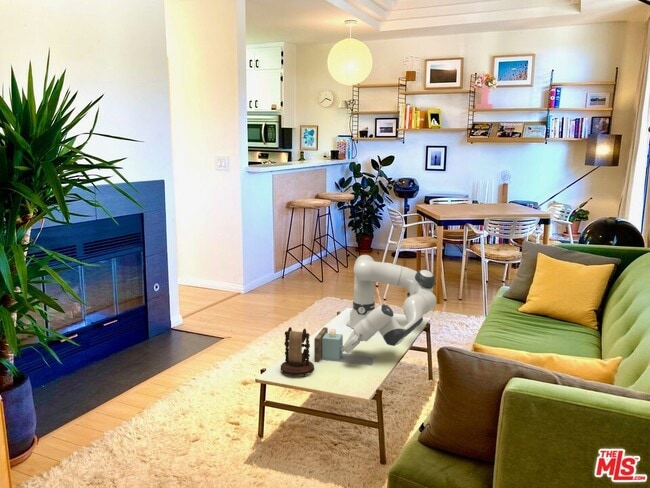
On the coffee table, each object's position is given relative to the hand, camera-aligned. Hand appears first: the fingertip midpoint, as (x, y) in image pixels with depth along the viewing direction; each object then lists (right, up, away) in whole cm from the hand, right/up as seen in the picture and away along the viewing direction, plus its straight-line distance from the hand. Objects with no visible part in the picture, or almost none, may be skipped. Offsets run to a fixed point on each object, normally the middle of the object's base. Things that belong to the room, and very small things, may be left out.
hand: (342, 349), depth 250 cm
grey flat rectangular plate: (+3, -5, 0) cm, 6 cm away
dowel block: (-4, -4, +2) cm, 6 cm away
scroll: (-20, -7, -12) cm, 25 cm away
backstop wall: (-10, -4, +4) cm, 11 cm away
